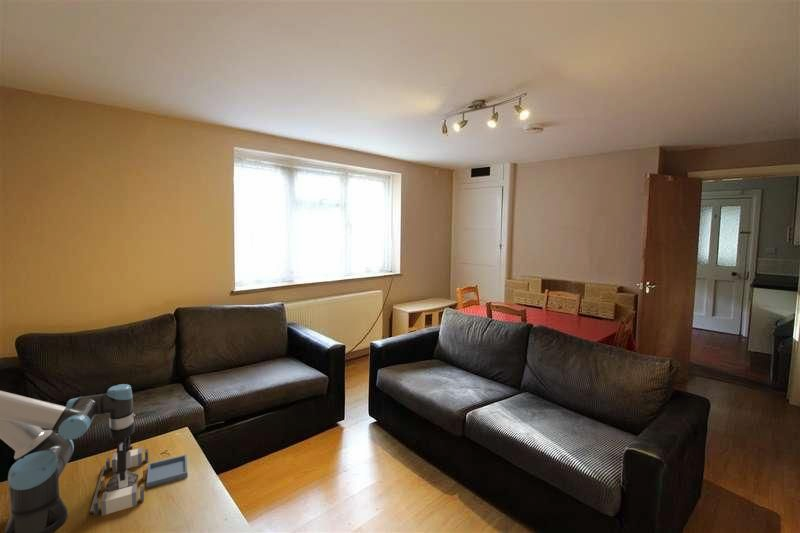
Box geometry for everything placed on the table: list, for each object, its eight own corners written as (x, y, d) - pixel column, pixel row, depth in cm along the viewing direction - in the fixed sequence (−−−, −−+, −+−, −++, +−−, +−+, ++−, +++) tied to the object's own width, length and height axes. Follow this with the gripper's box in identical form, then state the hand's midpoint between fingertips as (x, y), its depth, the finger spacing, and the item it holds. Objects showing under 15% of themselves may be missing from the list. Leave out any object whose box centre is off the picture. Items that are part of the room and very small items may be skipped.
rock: (138, 486, 146) (138, 476, 146) (103, 497, 140) (103, 487, 140) (138, 474, 153) (138, 465, 153) (105, 484, 147) (104, 474, 147)
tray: (146, 488, 145) (146, 483, 145) (148, 468, 157) (148, 463, 157) (187, 476, 152) (187, 472, 152) (186, 458, 164) (186, 454, 164)
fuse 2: (101, 516, 131) (100, 501, 130) (104, 506, 136) (103, 492, 135) (136, 505, 136) (135, 492, 136) (137, 496, 141) (137, 483, 140)
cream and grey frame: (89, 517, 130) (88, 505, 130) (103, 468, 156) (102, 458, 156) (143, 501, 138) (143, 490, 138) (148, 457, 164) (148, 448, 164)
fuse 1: (112, 472, 154) (111, 459, 153) (114, 465, 159) (113, 453, 158) (141, 465, 159) (141, 453, 159) (142, 458, 164) (142, 446, 163)
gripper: (130, 438, 136) (134, 492, 138) (136, 409, 158) (139, 456, 160) (104, 443, 132) (108, 499, 135) (114, 413, 154) (117, 462, 156)
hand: (125, 476), depth 147 cm, fingers open, 13 cm apart
